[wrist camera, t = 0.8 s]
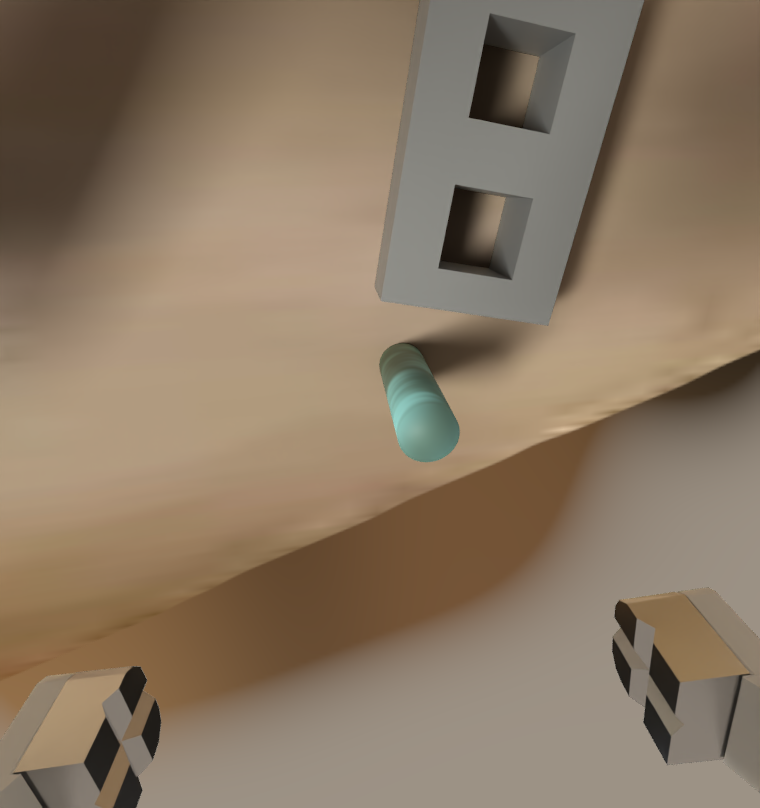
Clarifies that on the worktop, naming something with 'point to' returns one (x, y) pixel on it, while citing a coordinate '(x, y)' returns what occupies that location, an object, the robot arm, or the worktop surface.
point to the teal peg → (417, 405)
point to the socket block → (500, 150)
